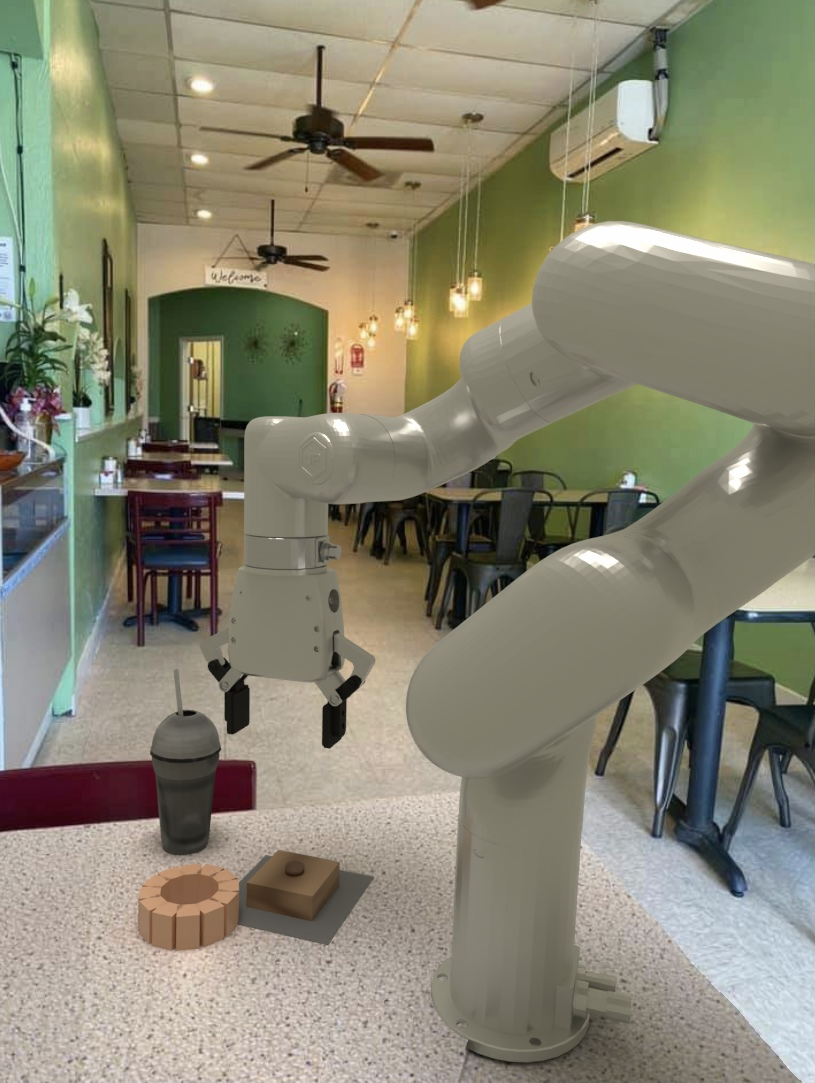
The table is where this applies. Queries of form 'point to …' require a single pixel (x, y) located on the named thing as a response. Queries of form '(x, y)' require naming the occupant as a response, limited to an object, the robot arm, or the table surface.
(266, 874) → the lid
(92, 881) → the table surface
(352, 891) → the mat
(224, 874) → the bowl
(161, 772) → the beverage cup
